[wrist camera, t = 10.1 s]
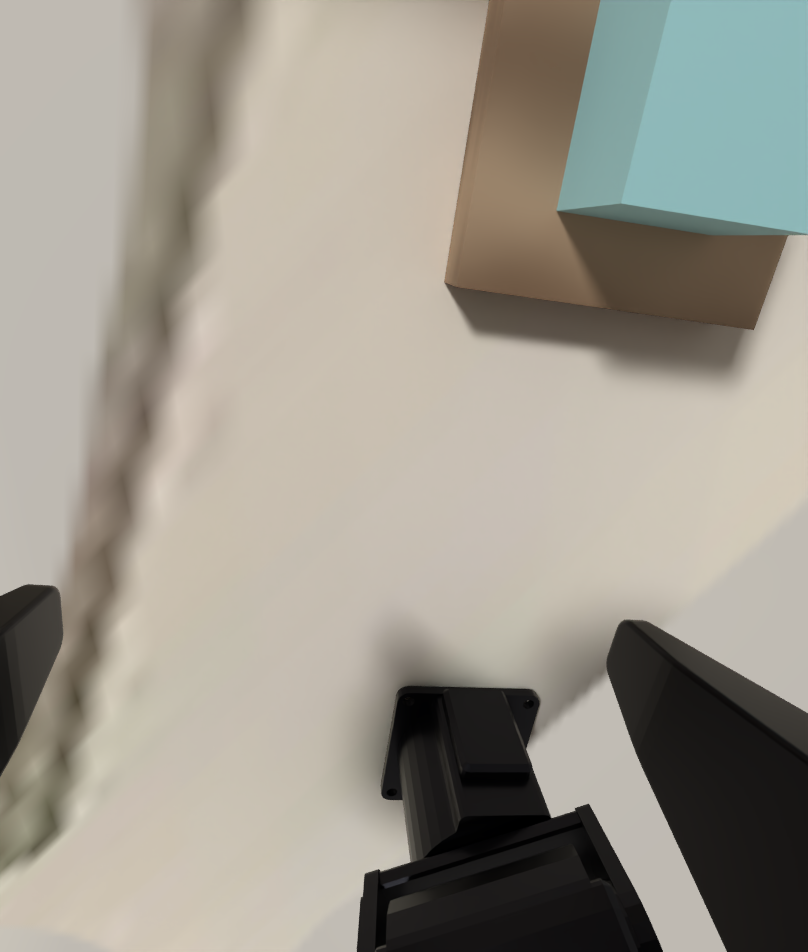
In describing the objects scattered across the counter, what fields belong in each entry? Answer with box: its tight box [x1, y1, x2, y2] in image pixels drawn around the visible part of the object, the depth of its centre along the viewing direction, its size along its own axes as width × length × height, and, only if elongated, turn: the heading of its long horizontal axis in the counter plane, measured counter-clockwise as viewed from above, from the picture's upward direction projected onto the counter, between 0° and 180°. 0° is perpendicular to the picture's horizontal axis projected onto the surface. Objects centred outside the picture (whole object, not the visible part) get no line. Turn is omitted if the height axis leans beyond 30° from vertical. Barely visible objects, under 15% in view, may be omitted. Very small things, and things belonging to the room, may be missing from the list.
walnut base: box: [444, 0, 788, 330], centre depth 17 cm, size 10×10×2 cm
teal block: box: [557, 0, 808, 235], centre depth 14 cm, size 5×5×4 cm
